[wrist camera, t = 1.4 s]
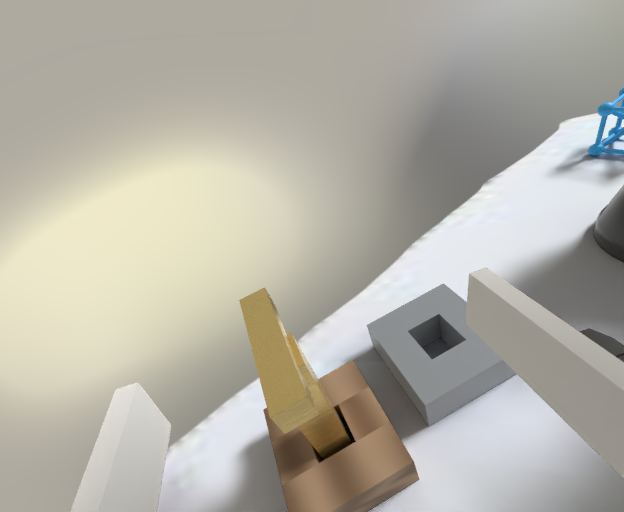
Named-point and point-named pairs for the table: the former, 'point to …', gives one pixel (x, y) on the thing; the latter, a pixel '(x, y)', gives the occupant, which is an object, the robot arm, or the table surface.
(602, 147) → the molecular structure
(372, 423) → the block
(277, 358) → the t key
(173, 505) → the table surface
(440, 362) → the block
